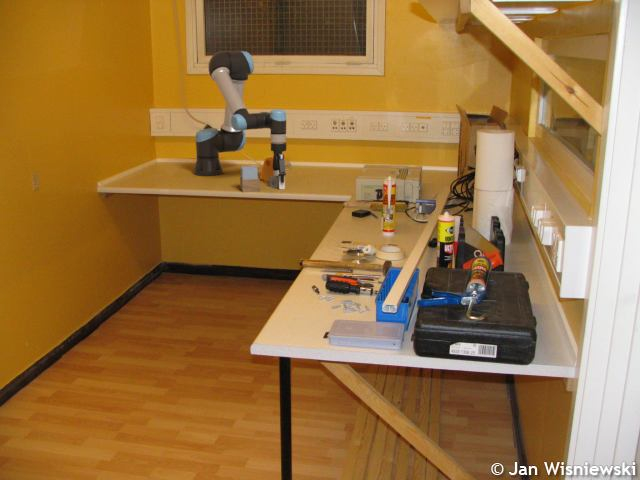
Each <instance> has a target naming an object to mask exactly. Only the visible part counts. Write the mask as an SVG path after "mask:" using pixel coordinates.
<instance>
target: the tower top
mask: <svg viewBox="0 0 640 480" xmlns="http://www.w3.org/2000/svg"><path fill="white" fill-rule="evenodd" d="M258 173H259V172H258V167H257V165H244V166H240V177H242V179H243V180H247V179H258V178H259V176H258Z"/></svg>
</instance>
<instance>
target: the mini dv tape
mask: <svg viewBox="0 0 640 480" xmlns="http://www.w3.org/2000/svg"><path fill="white" fill-rule="evenodd" d="M414 205H415V208H414V214H415V213H419V214H418V215H421V214H420V213H427V214H426V215H430V214H431V213H432V212H433V211H434V210H435V208H436V207H437V199H425V198H416V199H415V204H414ZM436 209H437V208H436Z"/></svg>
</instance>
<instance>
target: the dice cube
mask: <svg viewBox="0 0 640 480" xmlns="http://www.w3.org/2000/svg"><path fill="white" fill-rule="evenodd" d="M269 187H270V188H273V189H279V176H272V177H270V182H269Z"/></svg>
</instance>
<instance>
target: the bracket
mask: <svg viewBox="0 0 640 480" xmlns="http://www.w3.org/2000/svg"><path fill="white" fill-rule="evenodd" d="M272 176H274V170H273V156H272V157H268V158H265V159H264V162H263V165H262V168H261V171H260V175H259V177H260V178H259V180H264V182H268V183H270V177H272Z"/></svg>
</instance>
